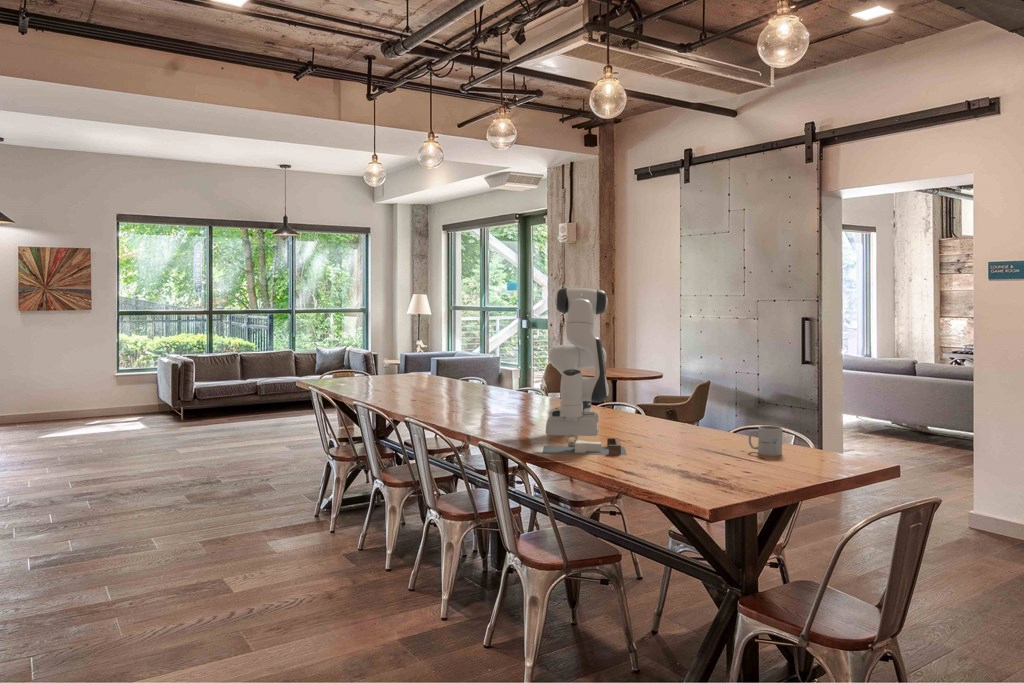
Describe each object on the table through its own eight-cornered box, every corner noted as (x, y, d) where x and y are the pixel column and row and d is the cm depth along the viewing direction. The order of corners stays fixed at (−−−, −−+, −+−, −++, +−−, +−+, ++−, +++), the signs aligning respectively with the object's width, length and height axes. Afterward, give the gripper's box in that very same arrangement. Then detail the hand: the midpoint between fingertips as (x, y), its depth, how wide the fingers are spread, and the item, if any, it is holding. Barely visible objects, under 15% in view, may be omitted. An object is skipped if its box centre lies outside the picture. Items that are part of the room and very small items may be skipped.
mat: (543, 446, 301) (543, 445, 301) (624, 448, 298) (624, 446, 298) (542, 454, 285) (542, 453, 285) (626, 456, 282) (626, 454, 282)
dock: (607, 446, 299) (607, 437, 299) (618, 446, 298) (618, 438, 298) (608, 454, 283) (608, 445, 283) (620, 454, 282) (621, 445, 282)
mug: (785, 453, 287) (786, 427, 287) (775, 456, 281) (776, 430, 281) (755, 449, 296) (755, 423, 295) (745, 452, 290) (745, 426, 289)
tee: (575, 447, 296) (575, 440, 296) (600, 448, 295) (600, 440, 295) (575, 452, 287) (575, 444, 287) (601, 452, 286) (601, 445, 286)
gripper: (598, 410, 293) (598, 445, 294) (546, 410, 295) (546, 445, 296) (598, 413, 287) (598, 448, 288) (545, 412, 289) (545, 447, 290)
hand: (571, 446), depth 292 cm, fingers closed
